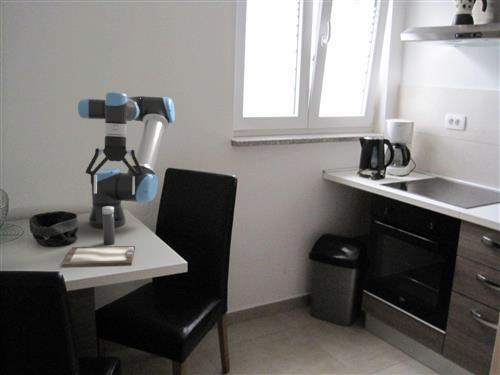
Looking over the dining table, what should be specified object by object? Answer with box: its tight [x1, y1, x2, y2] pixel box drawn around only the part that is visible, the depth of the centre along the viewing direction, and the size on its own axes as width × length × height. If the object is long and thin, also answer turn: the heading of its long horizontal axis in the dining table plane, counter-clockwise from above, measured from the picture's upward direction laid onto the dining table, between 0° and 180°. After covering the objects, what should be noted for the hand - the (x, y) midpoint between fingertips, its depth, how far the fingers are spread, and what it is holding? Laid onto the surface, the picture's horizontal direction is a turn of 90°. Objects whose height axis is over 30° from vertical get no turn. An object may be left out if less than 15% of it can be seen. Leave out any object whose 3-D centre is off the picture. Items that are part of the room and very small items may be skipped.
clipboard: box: [62, 245, 136, 268], centre depth 165 cm, size 16×22×2 cm
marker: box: [102, 206, 116, 246], centre depth 178 cm, size 4×4×14 cm
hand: (114, 193), depth 175 cm, fingers open, 13 cm apart
